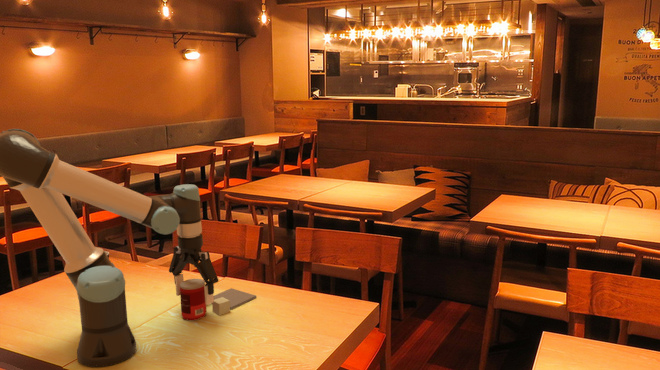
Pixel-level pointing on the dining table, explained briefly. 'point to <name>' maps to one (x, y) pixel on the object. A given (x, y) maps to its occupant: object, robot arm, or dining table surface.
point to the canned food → (192, 299)
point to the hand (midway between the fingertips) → (194, 298)
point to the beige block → (221, 306)
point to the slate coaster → (235, 297)
